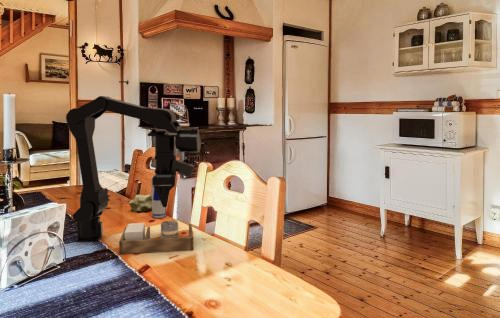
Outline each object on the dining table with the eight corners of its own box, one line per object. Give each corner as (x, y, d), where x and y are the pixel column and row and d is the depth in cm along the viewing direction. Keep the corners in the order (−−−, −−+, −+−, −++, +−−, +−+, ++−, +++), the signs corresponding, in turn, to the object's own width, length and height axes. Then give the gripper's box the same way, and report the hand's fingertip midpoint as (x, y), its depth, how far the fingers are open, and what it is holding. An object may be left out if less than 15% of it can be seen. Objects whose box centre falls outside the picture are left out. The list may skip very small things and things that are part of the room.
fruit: (158, 212, 162) (159, 193, 160) (142, 219, 154) (143, 200, 152) (141, 205, 166) (142, 187, 164) (124, 212, 158) (125, 193, 156)
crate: (119, 254, 111) (119, 241, 110) (125, 238, 125) (125, 227, 124) (193, 249, 114) (193, 237, 114) (191, 234, 128) (191, 224, 128)
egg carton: (125, 251, 113) (124, 232, 113) (128, 241, 122) (128, 223, 122) (142, 250, 114) (142, 231, 114) (145, 240, 123) (144, 222, 122)
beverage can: (162, 219, 147) (161, 178, 145) (149, 218, 148) (148, 177, 146) (168, 215, 152) (167, 175, 150) (155, 214, 153) (154, 175, 151)
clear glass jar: (160, 246, 118) (160, 226, 117) (161, 240, 123) (160, 221, 122) (178, 245, 119) (178, 225, 118) (178, 239, 124) (178, 220, 123)
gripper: (193, 155, 112) (193, 210, 114) (191, 148, 130) (192, 196, 132) (151, 155, 110) (152, 211, 112) (156, 148, 128) (157, 197, 130)
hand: (165, 203), depth 121 cm, fingers open, 9 cm apart
